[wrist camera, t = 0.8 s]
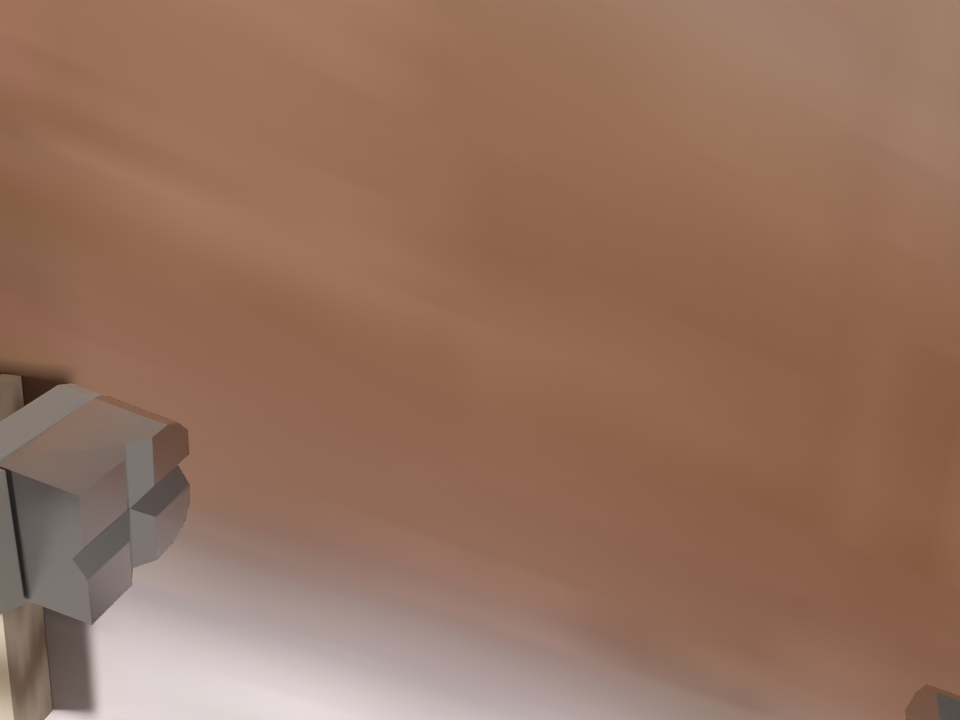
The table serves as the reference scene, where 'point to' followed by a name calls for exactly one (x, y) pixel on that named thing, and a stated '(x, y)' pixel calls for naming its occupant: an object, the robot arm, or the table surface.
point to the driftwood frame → (22, 626)
